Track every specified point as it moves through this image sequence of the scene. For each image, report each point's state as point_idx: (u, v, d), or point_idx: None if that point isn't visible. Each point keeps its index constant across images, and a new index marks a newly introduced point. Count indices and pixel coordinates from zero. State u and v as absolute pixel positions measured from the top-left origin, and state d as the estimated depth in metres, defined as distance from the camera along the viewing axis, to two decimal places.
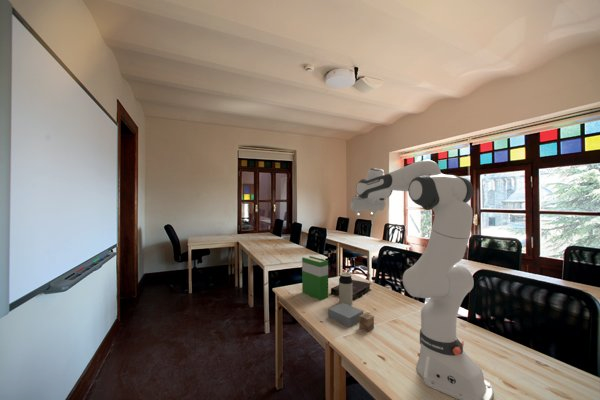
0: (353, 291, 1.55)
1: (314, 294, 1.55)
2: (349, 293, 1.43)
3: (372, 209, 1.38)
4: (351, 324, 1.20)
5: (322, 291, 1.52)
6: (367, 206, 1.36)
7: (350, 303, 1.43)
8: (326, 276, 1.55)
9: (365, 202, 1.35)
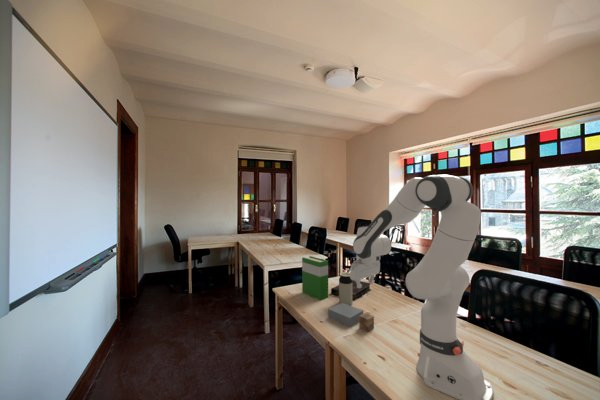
0: (353, 291, 1.55)
1: (314, 294, 1.55)
2: (349, 293, 1.43)
3: (371, 274, 1.20)
4: (352, 324, 1.20)
5: (322, 291, 1.52)
6: (367, 271, 1.17)
7: (350, 303, 1.43)
8: (326, 276, 1.55)
9: (364, 267, 1.16)
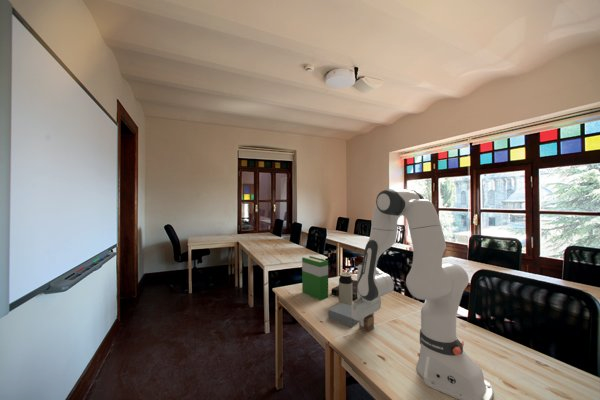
0: (354, 291, 1.55)
1: (314, 294, 1.55)
2: (349, 293, 1.43)
3: (372, 311, 1.18)
4: (353, 324, 1.20)
5: (322, 291, 1.52)
6: (368, 309, 1.16)
7: (350, 303, 1.43)
8: (326, 276, 1.55)
9: (366, 305, 1.15)
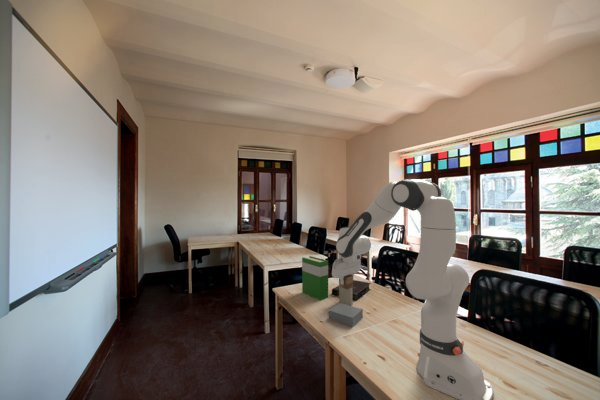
0: (355, 291, 1.54)
1: (314, 294, 1.55)
2: (349, 293, 1.43)
3: (352, 272, 1.28)
4: (354, 323, 1.20)
5: (322, 291, 1.52)
6: (348, 269, 1.25)
7: (350, 303, 1.43)
8: (326, 276, 1.55)
9: (346, 265, 1.24)
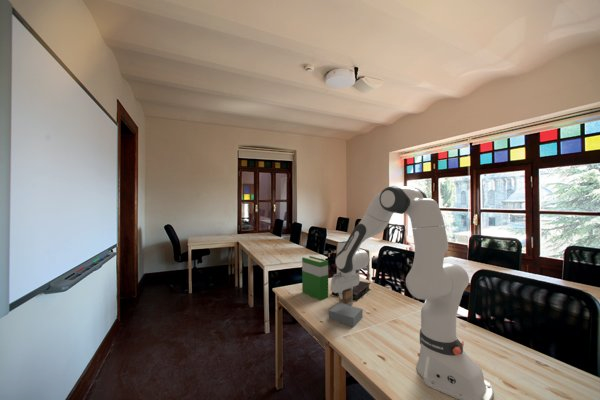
0: (355, 291, 1.54)
1: (314, 294, 1.55)
2: None
3: (351, 286, 1.28)
4: (354, 323, 1.20)
5: (322, 291, 1.52)
6: (347, 283, 1.26)
7: (350, 303, 1.43)
8: (326, 276, 1.55)
9: (344, 279, 1.25)
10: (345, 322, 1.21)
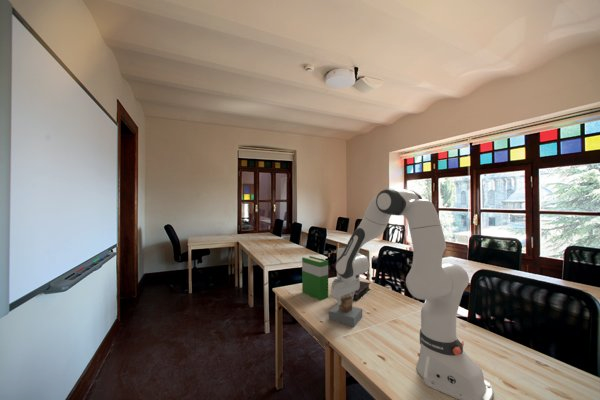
0: (355, 291, 1.54)
1: (314, 294, 1.55)
2: (349, 293, 1.43)
3: (351, 291, 1.28)
4: (355, 323, 1.20)
5: (322, 291, 1.52)
6: (347, 288, 1.26)
7: None
8: (326, 276, 1.55)
9: (344, 284, 1.25)
10: (346, 322, 1.21)
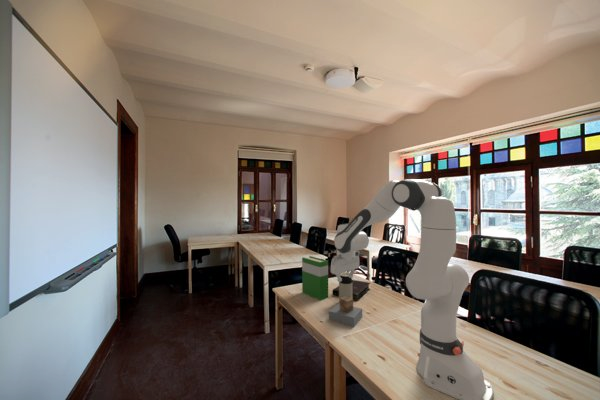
0: (356, 291, 1.54)
1: (314, 294, 1.55)
2: (349, 293, 1.43)
3: (351, 268, 1.28)
4: (355, 323, 1.20)
5: (322, 291, 1.52)
6: (346, 266, 1.26)
7: None
8: (326, 276, 1.55)
9: (344, 261, 1.25)
10: (346, 322, 1.21)
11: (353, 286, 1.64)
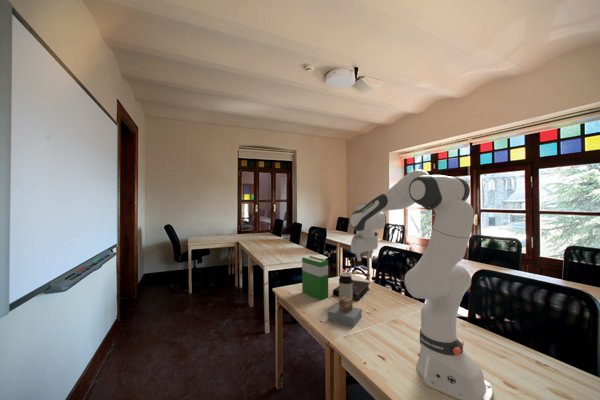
0: (356, 291, 1.54)
1: (314, 294, 1.55)
2: (349, 293, 1.43)
3: (370, 248, 1.30)
4: (354, 324, 1.20)
5: (322, 291, 1.52)
6: (366, 245, 1.27)
7: None
8: (326, 276, 1.55)
9: (364, 241, 1.26)
10: (345, 323, 1.21)
11: (353, 286, 1.64)
